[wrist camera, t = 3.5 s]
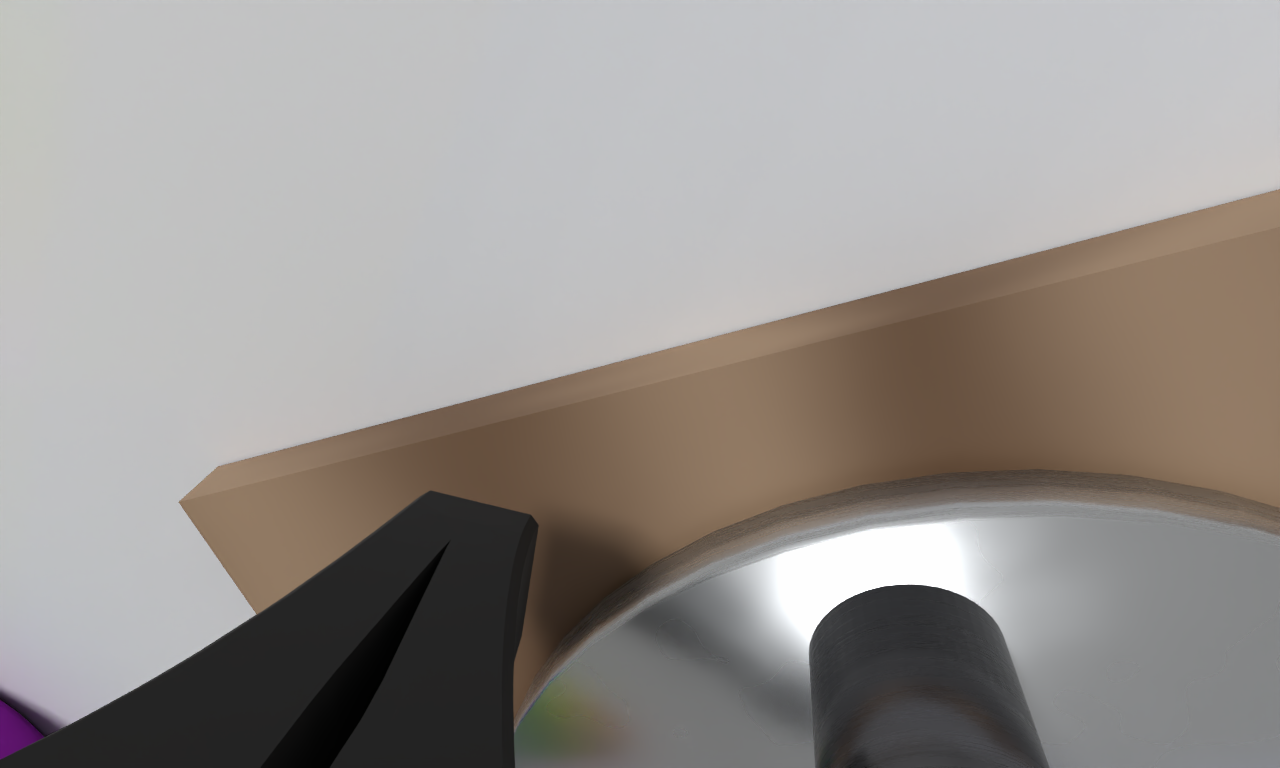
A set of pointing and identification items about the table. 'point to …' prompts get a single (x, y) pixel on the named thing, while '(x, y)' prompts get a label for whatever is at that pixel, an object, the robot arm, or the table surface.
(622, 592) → the dial
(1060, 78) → the table surface
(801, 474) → the dial plate
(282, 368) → the table surface
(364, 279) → the table surface
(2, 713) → the decorative egg
